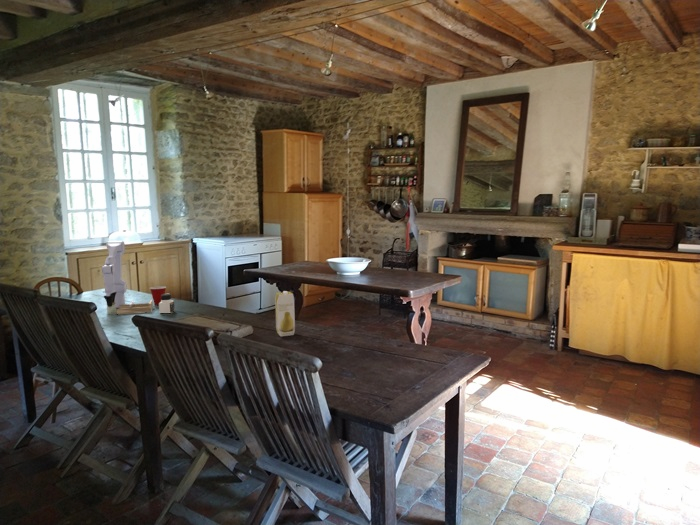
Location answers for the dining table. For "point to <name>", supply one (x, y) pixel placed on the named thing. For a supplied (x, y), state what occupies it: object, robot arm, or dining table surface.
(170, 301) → the medicine bottle
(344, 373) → the dining table surface
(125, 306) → the wooden crate
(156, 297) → the plastic cup
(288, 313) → the juice carton
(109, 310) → the jar
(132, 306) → the pusher
